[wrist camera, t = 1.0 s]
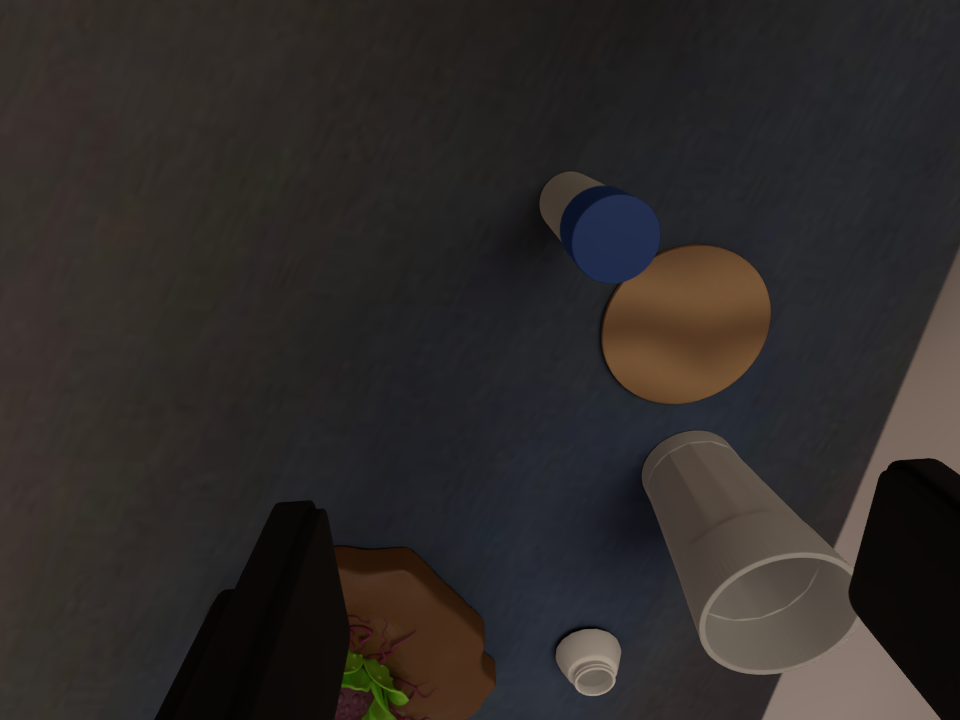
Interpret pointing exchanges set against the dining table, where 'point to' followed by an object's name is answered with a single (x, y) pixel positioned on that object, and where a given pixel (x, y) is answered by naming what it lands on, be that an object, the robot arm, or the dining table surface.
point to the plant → (408, 641)
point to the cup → (746, 560)
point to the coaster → (686, 324)
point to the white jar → (589, 660)
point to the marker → (600, 227)
